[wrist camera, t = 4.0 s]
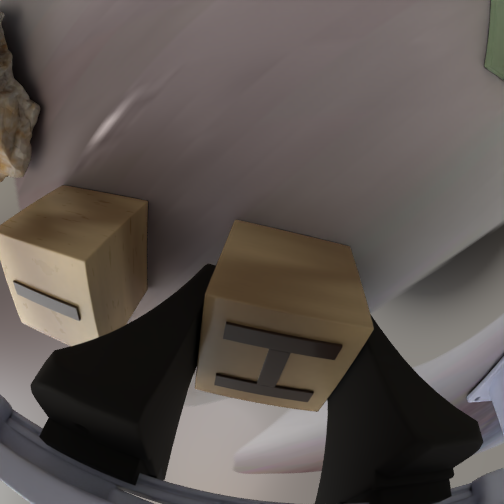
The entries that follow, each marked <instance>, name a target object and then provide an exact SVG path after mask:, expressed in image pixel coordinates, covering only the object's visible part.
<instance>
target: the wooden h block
mask: <svg viewBox="0 0 504 504" xmlns="http://www.w3.org/2000/svg"><path fill="white" fill-rule="evenodd" d="M373 330H374V327H373V323H372V319H371V315H370V312H369V308H368V304H367V301H366V297H365V294H364V290H363V287H362V283H361V280H360V277H359V273H358V270H357V267H356V263H355V260H354V257H353V254H352V251H351V248H350V246H346V245H342V244H338V243H334V242H330V241H326V240H322V239H318V238H313V237H309V236H305V235H301V234H297V233H292V232H288V231H284V230H280V229H275V228H271V227H267V226H262V225H258V224H253V223H249V222H245V221H240V220H235V221H234V223H233V226H232V228H231V231H230V233H229V236H228V238H227V240H226V243H225V245H224V248H223V250H222V253H221V255H220V258H219V260H218V263H217V265H216V268H215V270H214V272H213V275H212V277H211V280H210V283H209V285H208V288H207V290H206V293H205V298H204V306H203V314H202V323H201V332H200V341H199V351H198V360H197V371H196V381H195V389H197V390H201V391H205V392H209V393H214V394H218V395H222V396H227V397H231V398H236V399H241V400H246V401H251V402H256V403H262V404H267V405H274V406H279V407H286V408H293V409H300V410H308V411H316V412H317V411H319V409H320V408H321V407H322V405H323V404H324V403H325V401H326V400H327V399H328V397H329V396H330V395H331V393H332V392H333V390H334V389H335V388H336V386H337V385H338V383H339V382H340V381H341V379H342V378H343V376H344V375H345V373H346V372H347V370H348V369H349V367H350V366H351V364H352V363H353V361H354V360H355V358H356V357H357V355H358V354H359V352H360V351H361V349H362V348H363V346H364V344H365V343H366V341H367V340H368V338H369V336H370V335H371V333H372V331H373Z"/></svg>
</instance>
